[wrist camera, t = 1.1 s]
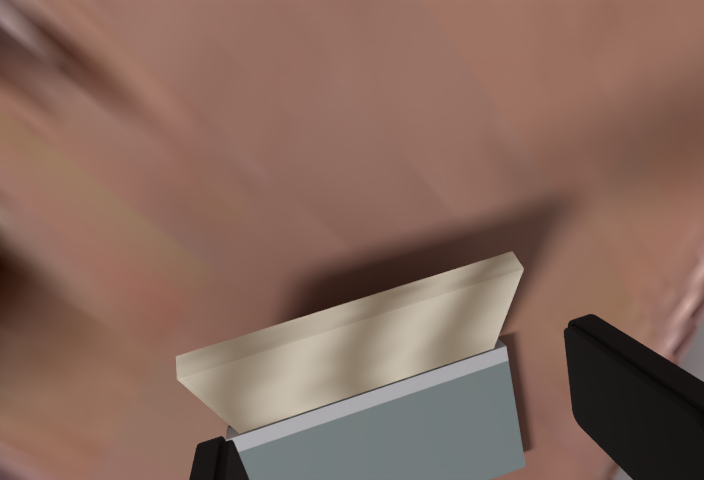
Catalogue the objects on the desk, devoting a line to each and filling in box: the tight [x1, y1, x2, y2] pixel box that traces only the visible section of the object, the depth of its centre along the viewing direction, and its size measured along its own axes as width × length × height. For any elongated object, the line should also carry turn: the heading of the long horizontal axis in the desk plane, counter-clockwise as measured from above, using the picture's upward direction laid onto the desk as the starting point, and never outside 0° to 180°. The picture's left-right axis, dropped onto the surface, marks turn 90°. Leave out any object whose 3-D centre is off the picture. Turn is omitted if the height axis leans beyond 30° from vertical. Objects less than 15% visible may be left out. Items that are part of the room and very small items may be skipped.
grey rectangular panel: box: [226, 339, 526, 480], centre depth 32 cm, size 20×11×1 cm, turn 104°
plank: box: [176, 251, 524, 434], centre depth 26 cm, size 18×10×1 cm
